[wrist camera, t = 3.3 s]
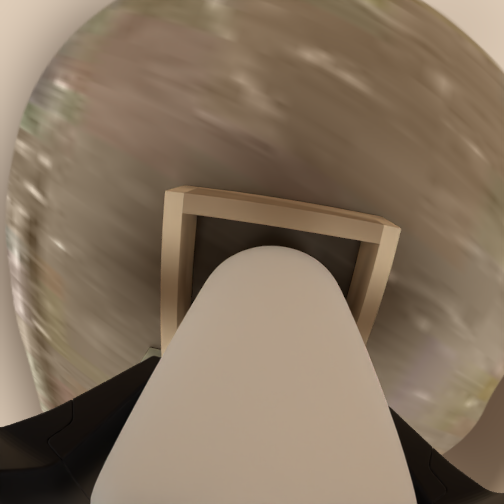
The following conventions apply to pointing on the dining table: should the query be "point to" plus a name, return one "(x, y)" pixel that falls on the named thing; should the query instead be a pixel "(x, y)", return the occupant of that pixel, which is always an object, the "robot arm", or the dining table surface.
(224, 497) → the can
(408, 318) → the dining table surface
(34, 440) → the robot arm
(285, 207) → the collar
